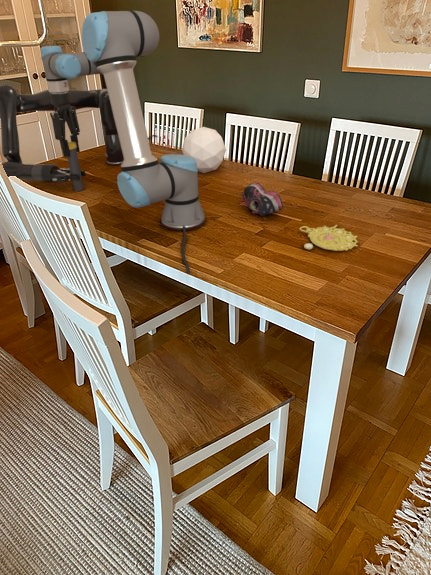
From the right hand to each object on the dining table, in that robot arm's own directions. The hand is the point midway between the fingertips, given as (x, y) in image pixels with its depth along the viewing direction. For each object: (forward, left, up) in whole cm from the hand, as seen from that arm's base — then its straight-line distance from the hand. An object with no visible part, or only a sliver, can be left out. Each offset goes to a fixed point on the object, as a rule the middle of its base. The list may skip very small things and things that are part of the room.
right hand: (71, 153), depth 179 cm
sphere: (+12, -56, -15) cm, 59 cm away
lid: (0, 0, +4) cm, 4 cm away
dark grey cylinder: (0, 0, -15) cm, 15 cm away
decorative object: (-67, -85, -15) cm, 109 cm away
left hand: (-1, -3, -9) cm, 9 cm away
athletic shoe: (-39, -68, -15) cm, 80 cm away
